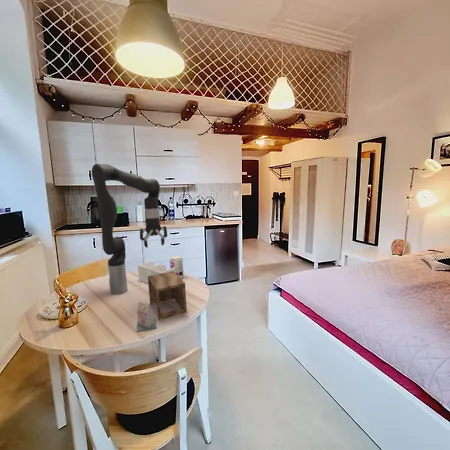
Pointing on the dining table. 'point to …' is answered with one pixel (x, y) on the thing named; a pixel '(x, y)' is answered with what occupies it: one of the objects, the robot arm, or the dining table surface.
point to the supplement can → (177, 265)
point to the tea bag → (145, 315)
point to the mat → (143, 328)
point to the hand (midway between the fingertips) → (154, 246)
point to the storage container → (151, 270)
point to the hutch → (167, 292)
